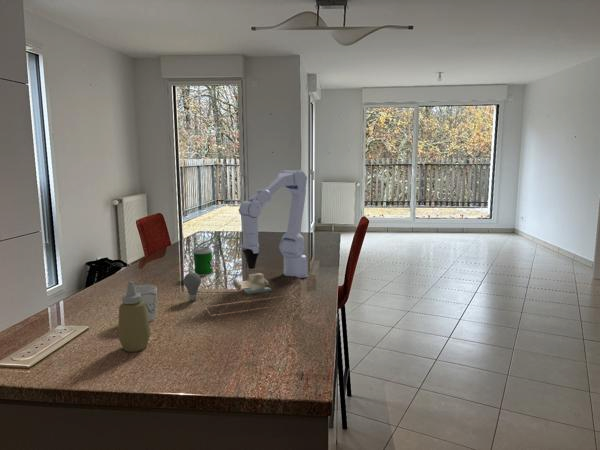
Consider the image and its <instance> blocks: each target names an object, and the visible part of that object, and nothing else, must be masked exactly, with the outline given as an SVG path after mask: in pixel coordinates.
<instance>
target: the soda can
mask: <svg viewBox="0 0 600 450" xmlns="http://www.w3.org/2000/svg"><path fill="white" fill-rule="evenodd" d="M193 264H194V265H193V266H194V273H197V274H198V275H199V276H200V277H204V276H210V275H212V274H213V273H214V267H213V265H214V264H213V250H212V248H211V247H210V246H209V247H208V246H201V247H200V246H199V247H196V248H195V249H194V250H193Z"/></svg>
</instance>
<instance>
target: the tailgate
mask: <svg viewBox="0 0 600 450" xmlns="http://www.w3.org/2000/svg"><path fill="white" fill-rule="evenodd" d="M272 291H273V289H272V288H271V287H268V286H265V289H263V290H255V291H252V290H250V288H246V289H243V292H244V293H245V294H247V295H250V294H255V293H256V294H257V293H263V292H264V293H265V292H272Z"/></svg>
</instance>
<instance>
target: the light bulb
mask: <svg viewBox="0 0 600 450" xmlns="http://www.w3.org/2000/svg"><path fill="white" fill-rule="evenodd" d="M182 282H183V285H184V286H185V289H186V290H187V294H188V296H189V300H190V301H192V302H194V301H197V299H198V297H197V296H198V290H199V288H200V286H201V283H202V278H201V276H199V275H198V274H197V273H195V271H194V272H188V273H186V275H184V278H183V281H182Z"/></svg>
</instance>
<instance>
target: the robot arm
mask: <svg viewBox="0 0 600 450" xmlns="http://www.w3.org/2000/svg"><path fill="white" fill-rule="evenodd" d="M307 179H308V177H307V175H306V173H305V172H304V171H303V170H300V169H299V170H288V169H283V170H281V172H279V173H278V175H277V177H276V178H275V179H274V180H273V181H272V182H271V183H270V184H269V185H268V186H267V187H266V188H261V189H257V191H256V193H255V194H254V195H252V196H250V197H249V198H248V200H244V201H243V202H241V204H240V205H239V208H238V214H239V215H240V216H241V220H242V221H241V222H242V243H243V244H240V245H239V247H240V248H244V249H243V250H242V252H243V254H244V256H245V259H246V264H247V268H248V269H249V270H252V269H253V270H255V268H256V264H257V259H258V258H259V257H258V256H259V255H260V244H259V222H258V221H259V220H258V219H259V218H258V216H260V215H261V211H262V209H263V208H264V207H265V206H266V205H267V204H269V203H270V202H271V201H272V196H273V195H275V194H276V193H278V192H279V191H280V190H281V189H283V188H284V187H285V188H286V189H287V190H288V191H290V193H291V200H290V206H289V207H290V208H289V214H288V215H289V217H288V223H287V230H286V232H285V233H283V235H282V236H281V240H280V243H279V246H278V247H279V248H278V249H279V251H280V252H281V253H282V256H283V274H284V276H287V277H296V278H298V279H301V278H308V277H309V275H308V260H307V255H305V254H304V253H305V248H306V245H305V237H304V236H303V235H302V234H301V231H302V230H301V229H302V223H303V215H304V208H305V202H306V201H305V200H306V194H307Z"/></svg>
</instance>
